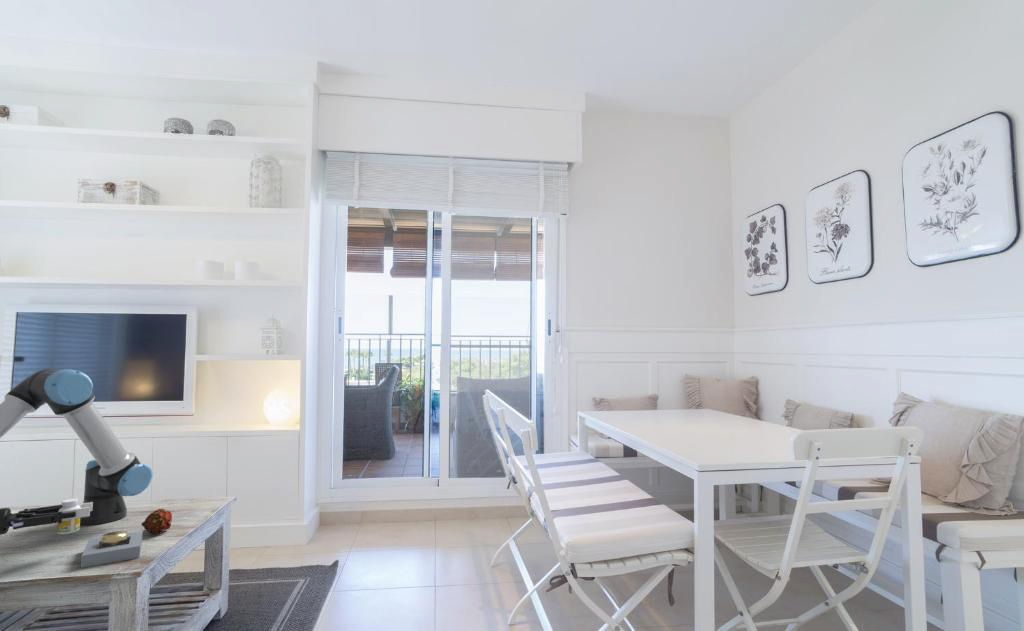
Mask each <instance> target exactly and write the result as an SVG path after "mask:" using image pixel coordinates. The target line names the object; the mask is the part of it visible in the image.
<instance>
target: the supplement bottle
mask: <svg viewBox="0 0 1024 631" xmlns="http://www.w3.org/2000/svg"><path fill="white" fill-rule="evenodd" d="M77 504H79V498H69V499H65V500H62V501H61V505H62V506H63V507H62V508H61V509H59V511H58V512H62V513H63V511H64V510H72V509H79V508H81V507H80V506H79V505H77ZM80 527H81V525H80V518H74V519H67V520H62V523H59V524H58V523H57V528H56V529H57V534H58V535H68V534H71V533H76V532H77V531H79V530H81V529H80Z"/></svg>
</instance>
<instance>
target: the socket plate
mask: <svg viewBox="0 0 1024 631" xmlns="http://www.w3.org/2000/svg"><path fill="white" fill-rule="evenodd" d="M143 533H144V532H143V530H141V531H132V532H127V541H126V542H124V543H122V544H119V545H114V546H102V545H101V541H102V536H99V537H93V538H89V539H88V541H87V543H86V545H85V548H84V549H83V551H82V554H81V559H80V560H81V561H80V569H81V568H82V567H83V568H87V567H93V566H98V565H99V566H100V565H103V564H104V565H105V564H111V563H116V562H121V561H129V560H134V559H140V556H141V548H142V545H143V544H142V543H143ZM83 568H82V569H83Z"/></svg>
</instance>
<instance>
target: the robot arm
mask: <svg viewBox="0 0 1024 631" xmlns="http://www.w3.org/2000/svg"><path fill="white" fill-rule="evenodd" d="M93 389H94V384H93V381H92V379H91V378H90V376H88V375H87V374H86V373H84V372H82V371H79V370H75V369H70V368H69V369H68V368H64V369H55V368H54V369H53V368H47V369H46V368H45V369H41V370H38V371H35V372H33V373H31V374H30V375H28V376H27V377H25V379H23V380H22V381H20V382H19V383H18V384H17V385H15V387H13V388H12V389H11V390H10V391H8V392H7V393H6V394H5V395H4V400H3V401H2V402H1V403H0V439H2V437H3V436H5V435H6V434H7V433H8V432H9V431H10V430H12V429H13V428H14V426H16V425H17V424H18V423H19V422H20V421H21V420H22V419H23V418H24V417H26V416H27V415H28V414H31V413H35V412H36V411H37V410H38V409H39V408H40V407H42V406H43V405H45V404H47V406H49V408H50V409H51V411H52V412H53V413H54V415H55V416H59V417H64V419H65V420H66V421H67V423H68V424H69V425H70V427H71V428H72V430H74V432H75V434H76V435H77V436H78V438H79V439H80V441H81V442H82V443H83V445H84V446H85V447H86V449H87V450H88V452H89V453H90V454H91V456H92V457H93V458H94V459H92V460H89V461H88V462H87V463H86V468H85V470H84V471H85V475H84V476H85V478H84V490H83V491H84V495H83V502H82V503H78V504H77V505H79V506H80V507H81V508H79V509H72V510H64V511H63V513H62V512H58V511H59V509H61V508H62V507H63V506H62V504H56V505H48V506H42V507H41V506H40V507H34V508H24V509H23V510H19V511H18V512H15V513H12V511H11V508H9V507H4V508H0V535H1V536H2V535H5V534H7V533H8V531H9V529H10V528H12V530H18V529H23V528H29V527H37V526H44V525H45V526H46V525H51V524H57V525H58V524H59V523H62V520H67V519H74V518H80V524H82V526H87V525H88V526H91V525H100V524H107V523H112V522H115V521H118V520H121V519H124V518H125V517H126V516H127V515H128V509H127V505H126V503H125V499H124V497H134V496H137V495H140V494H142V493H143V492H144V491H145V490H147V488H149V486H150V484H151V482H152V479H153V470H152V468H151V467H150V466H149V465H147V464H145V463H141V461H140V460H139V458H138V457H137V455H135V453H134V452H127V450H126V449H125V447H124V446H123V445H122V443H121V441H120V440H119V439H118V437H117V435H115V433H114V432H113V430H112V429H111V426H110V425H109V424H108V422H107V421H106V420H105V419H104V417H103V415H102V414H101V413H100V411H99V409H97V407H96V405H95V404H94V400H95V399H96V398H95V397H96V396H95V394H94V393H93Z"/></svg>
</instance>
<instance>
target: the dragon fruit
mask: <svg viewBox="0 0 1024 631" xmlns="http://www.w3.org/2000/svg"><path fill="white" fill-rule="evenodd" d="M172 521H173V513H172V512H171V511H169V510H166V509H165V508H158V509H156V510H154V511H152V512H150V513H149V514H148V515H147V517H146V518H145V519H144V521H143V522H142V523H141V526H142V527H143V528H144V530H145V531H146V532H148V533H150V532H152V533H153V534H160V533H159V532H161V533H162V532H163V531H166V530H169V529H171V526H172Z"/></svg>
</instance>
